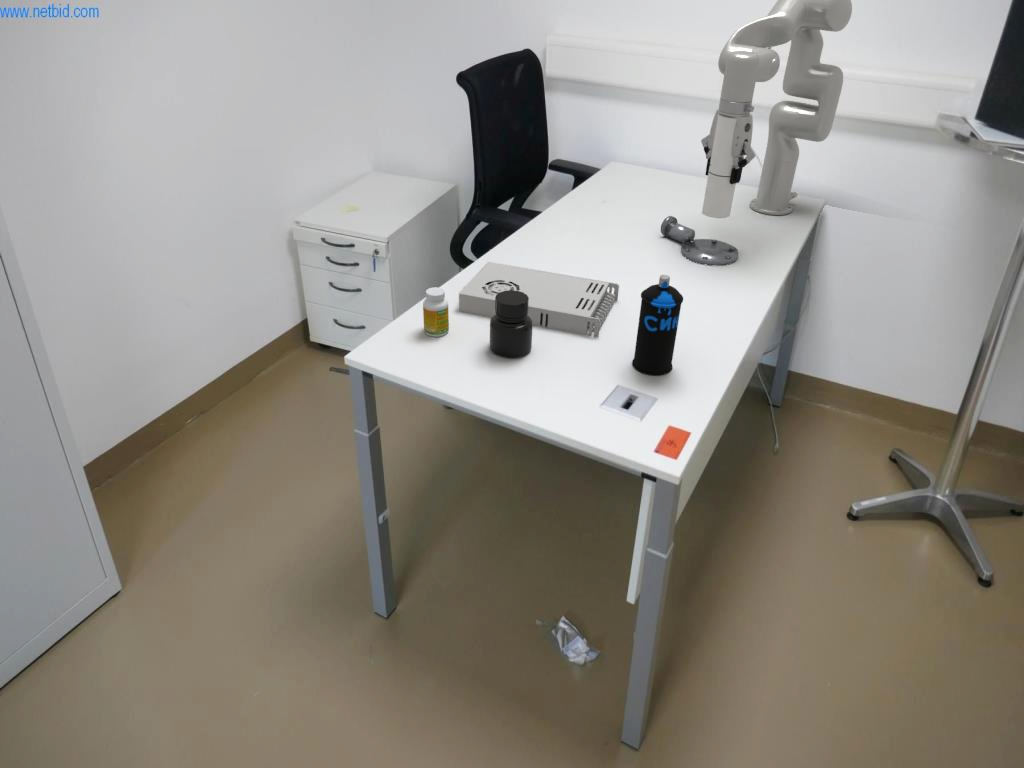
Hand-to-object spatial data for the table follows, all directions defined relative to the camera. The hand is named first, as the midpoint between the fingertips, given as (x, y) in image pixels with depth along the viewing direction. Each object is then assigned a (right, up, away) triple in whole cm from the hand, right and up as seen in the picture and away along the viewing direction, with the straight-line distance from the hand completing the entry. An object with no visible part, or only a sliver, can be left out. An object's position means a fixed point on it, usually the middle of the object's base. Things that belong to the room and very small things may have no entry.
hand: (722, 178), depth 199 cm
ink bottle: (-54, -45, -33) cm, 78 cm away
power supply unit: (-47, -35, -16) cm, 61 cm away
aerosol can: (-25, -49, -37) cm, 66 cm away
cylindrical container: (0, -8, +5) cm, 9 cm away
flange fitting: (-3, -16, +14) cm, 21 cm away
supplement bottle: (-70, -41, -28) cm, 86 cm away
